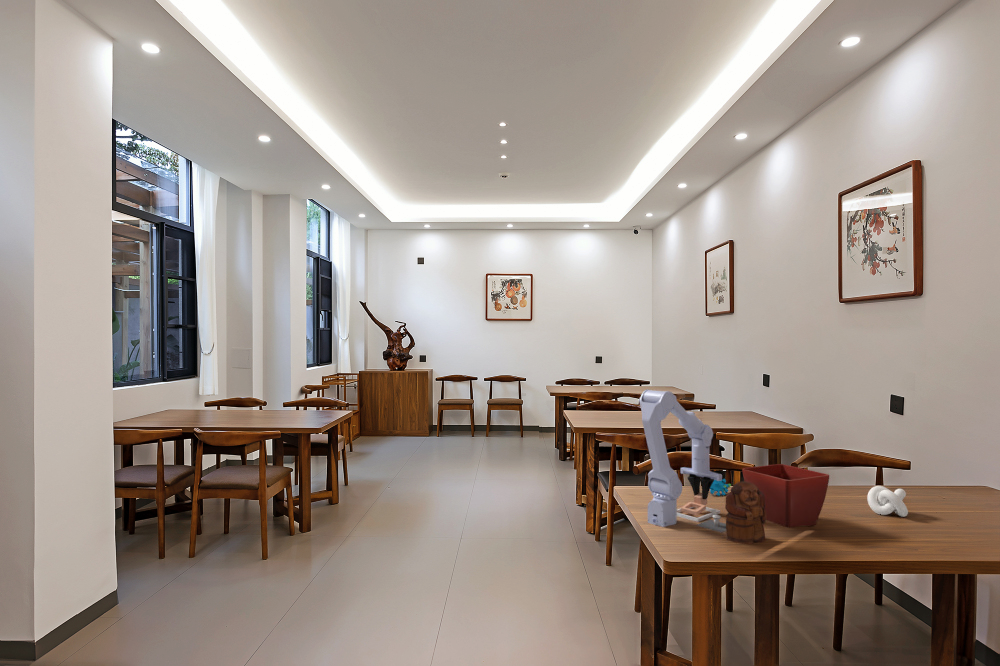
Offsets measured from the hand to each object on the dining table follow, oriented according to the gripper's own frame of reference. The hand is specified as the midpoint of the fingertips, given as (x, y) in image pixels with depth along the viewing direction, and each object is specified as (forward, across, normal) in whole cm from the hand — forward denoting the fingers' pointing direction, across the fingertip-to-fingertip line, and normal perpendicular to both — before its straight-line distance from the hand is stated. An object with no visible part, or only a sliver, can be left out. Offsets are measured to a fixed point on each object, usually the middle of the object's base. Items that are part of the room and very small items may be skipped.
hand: (700, 497), depth 192 cm
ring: (+3, 0, +3) cm, 4 cm away
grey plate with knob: (+6, -11, +10) cm, 16 cm away
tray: (+6, 0, +4) cm, 7 cm away
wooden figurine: (+6, -23, +14) cm, 28 cm away
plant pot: (+6, -22, -14) cm, 27 cm away
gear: (+6, +10, -30) cm, 32 cm away
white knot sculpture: (+6, -42, -52) cm, 67 cm away
